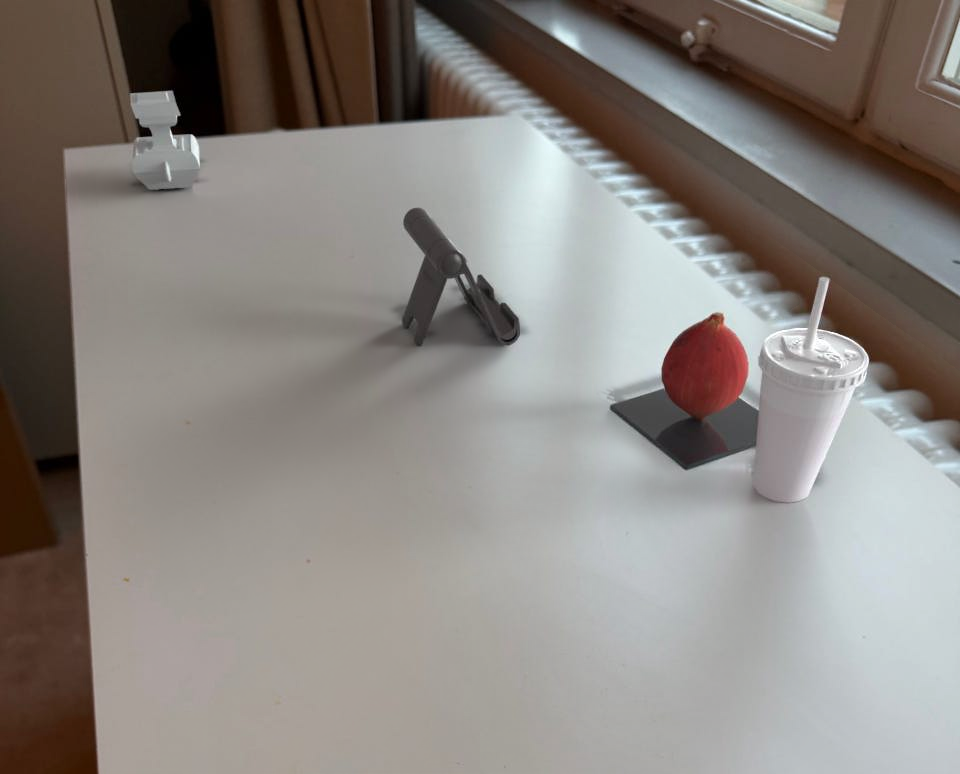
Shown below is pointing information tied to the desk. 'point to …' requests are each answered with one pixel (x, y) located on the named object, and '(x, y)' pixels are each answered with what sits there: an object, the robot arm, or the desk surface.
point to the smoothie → (802, 403)
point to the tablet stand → (446, 265)
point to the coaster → (690, 428)
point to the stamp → (162, 144)
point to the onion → (705, 368)
